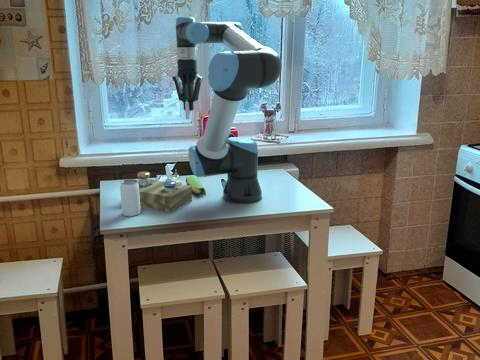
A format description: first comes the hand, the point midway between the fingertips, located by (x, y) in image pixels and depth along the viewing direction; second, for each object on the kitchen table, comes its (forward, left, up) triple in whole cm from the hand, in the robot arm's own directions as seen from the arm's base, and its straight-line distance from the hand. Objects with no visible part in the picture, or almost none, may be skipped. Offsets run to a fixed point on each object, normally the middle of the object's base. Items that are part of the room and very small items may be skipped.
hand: (189, 118), depth 205 cm
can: (+1, +38, -29) cm, 47 cm away
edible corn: (-5, +5, -29) cm, 30 cm away
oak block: (0, +23, -28) cm, 37 cm away
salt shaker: (-6, +23, -28) cm, 37 cm away
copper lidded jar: (+6, +23, -26) cm, 35 cm away
